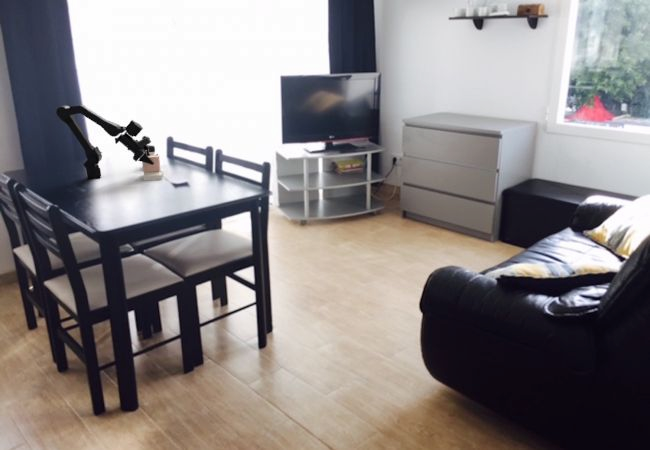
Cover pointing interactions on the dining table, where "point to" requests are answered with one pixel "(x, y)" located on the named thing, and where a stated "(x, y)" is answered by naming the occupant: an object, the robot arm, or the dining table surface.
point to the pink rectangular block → (154, 167)
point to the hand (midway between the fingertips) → (154, 163)
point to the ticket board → (153, 175)
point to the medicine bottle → (152, 151)
